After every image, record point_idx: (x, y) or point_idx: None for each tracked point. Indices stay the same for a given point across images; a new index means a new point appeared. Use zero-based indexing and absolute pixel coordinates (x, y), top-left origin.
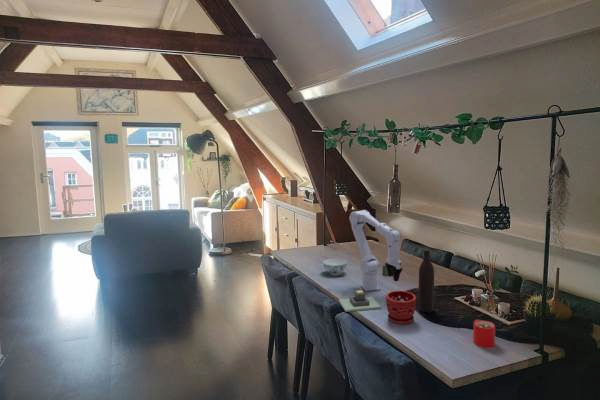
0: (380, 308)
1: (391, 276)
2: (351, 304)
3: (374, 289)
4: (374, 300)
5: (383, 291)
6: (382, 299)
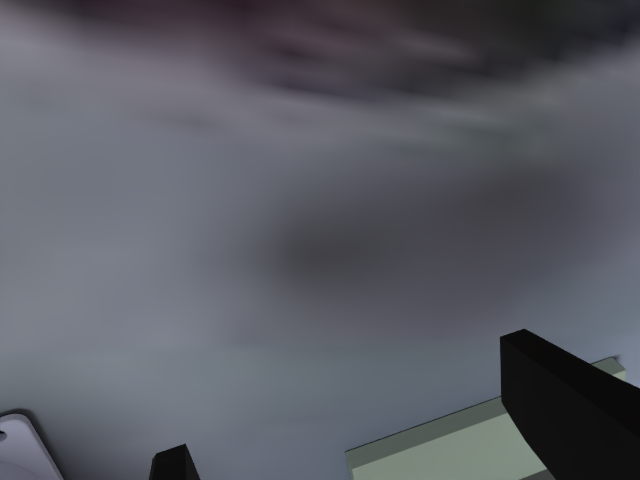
0: (613, 364)
1: (192, 466)
2: None
3: (54, 471)
4: (466, 437)
5: (86, 356)
6: (386, 356)
